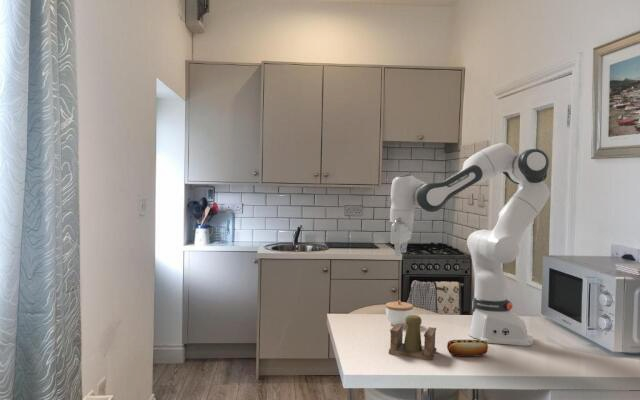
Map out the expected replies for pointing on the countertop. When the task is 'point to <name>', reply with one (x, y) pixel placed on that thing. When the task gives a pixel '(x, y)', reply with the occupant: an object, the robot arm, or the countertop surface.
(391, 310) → the lidded jar
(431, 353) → the holder
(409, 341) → the olive green bulbous cylinder
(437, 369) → the countertop surface
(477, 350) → the hot dog
